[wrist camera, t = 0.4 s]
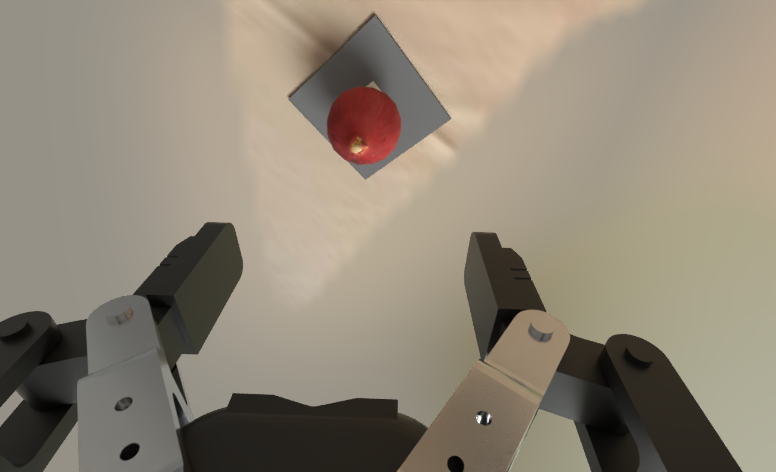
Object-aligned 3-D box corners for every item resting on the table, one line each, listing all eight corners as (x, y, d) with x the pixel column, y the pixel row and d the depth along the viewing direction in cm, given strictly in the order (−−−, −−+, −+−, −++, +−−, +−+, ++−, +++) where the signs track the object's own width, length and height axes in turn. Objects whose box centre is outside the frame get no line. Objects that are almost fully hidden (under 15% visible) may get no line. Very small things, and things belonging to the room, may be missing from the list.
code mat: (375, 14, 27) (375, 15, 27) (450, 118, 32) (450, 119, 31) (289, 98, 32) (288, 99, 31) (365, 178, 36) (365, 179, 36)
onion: (387, 150, 34) (379, 198, 28) (328, 125, 33) (306, 170, 27) (414, 91, 30) (411, 132, 24) (348, 61, 29) (328, 96, 23)
